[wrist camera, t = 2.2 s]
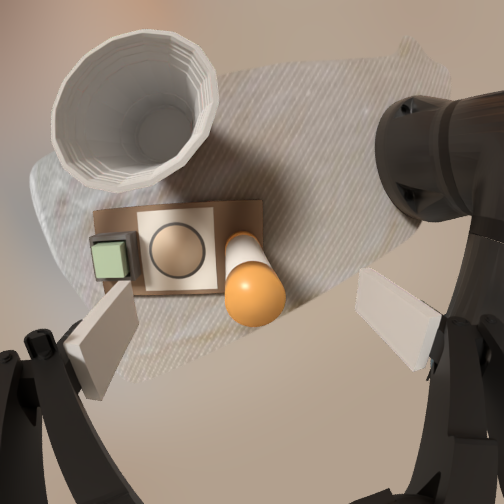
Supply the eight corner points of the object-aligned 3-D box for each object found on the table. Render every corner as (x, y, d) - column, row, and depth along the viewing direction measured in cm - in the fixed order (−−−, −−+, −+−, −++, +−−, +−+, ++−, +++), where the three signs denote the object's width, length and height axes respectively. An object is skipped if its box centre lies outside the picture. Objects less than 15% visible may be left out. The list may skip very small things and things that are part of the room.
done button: (126, 240, 24) (119, 245, 22) (130, 270, 25) (124, 277, 23) (100, 242, 24) (91, 246, 22) (104, 271, 24) (96, 277, 23)
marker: (259, 230, 26) (286, 269, 14) (259, 263, 27) (285, 324, 15) (224, 231, 26) (223, 273, 14) (225, 265, 26) (226, 328, 15)
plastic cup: (237, 165, 25) (245, 151, 14) (134, 204, 25) (73, 222, 14) (204, 69, 22) (191, 2, 11) (106, 109, 22) (42, 75, 11)
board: (261, 199, 26) (265, 201, 23) (262, 286, 28) (266, 298, 26) (97, 210, 25) (83, 213, 22) (108, 291, 27) (98, 302, 24)
